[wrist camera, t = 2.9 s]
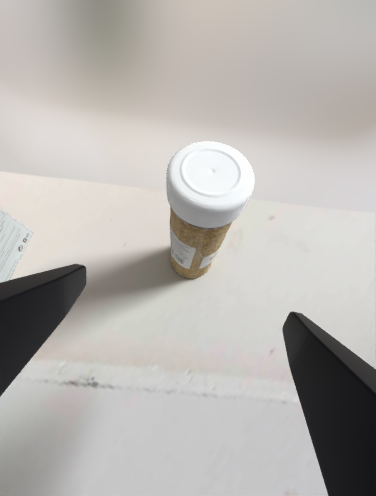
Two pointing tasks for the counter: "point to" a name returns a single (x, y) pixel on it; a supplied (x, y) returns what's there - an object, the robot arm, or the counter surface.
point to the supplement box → (11, 244)
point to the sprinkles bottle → (204, 202)
